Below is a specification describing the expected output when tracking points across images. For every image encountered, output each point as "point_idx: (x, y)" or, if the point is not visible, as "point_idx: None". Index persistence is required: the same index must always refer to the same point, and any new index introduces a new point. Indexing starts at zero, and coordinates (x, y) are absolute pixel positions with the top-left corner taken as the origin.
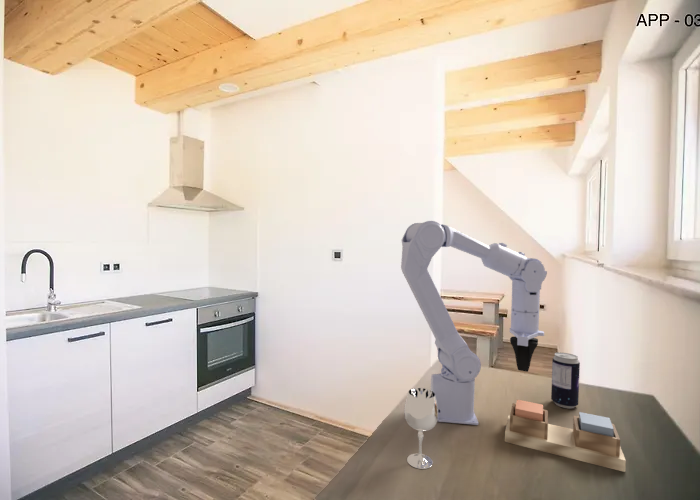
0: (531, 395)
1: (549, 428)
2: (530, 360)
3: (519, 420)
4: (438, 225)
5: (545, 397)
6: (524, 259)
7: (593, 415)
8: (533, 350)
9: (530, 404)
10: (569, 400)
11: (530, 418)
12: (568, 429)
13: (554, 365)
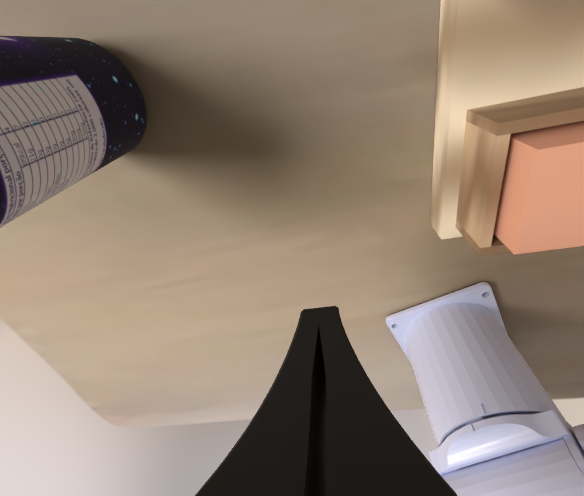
0: (131, 218)
1: (499, 94)
2: (358, 361)
3: None
4: None
5: (100, 176)
6: None
7: None
8: (418, 451)
9: (559, 199)
10: (116, 75)
11: None
12: (471, 14)
13: (16, 212)
